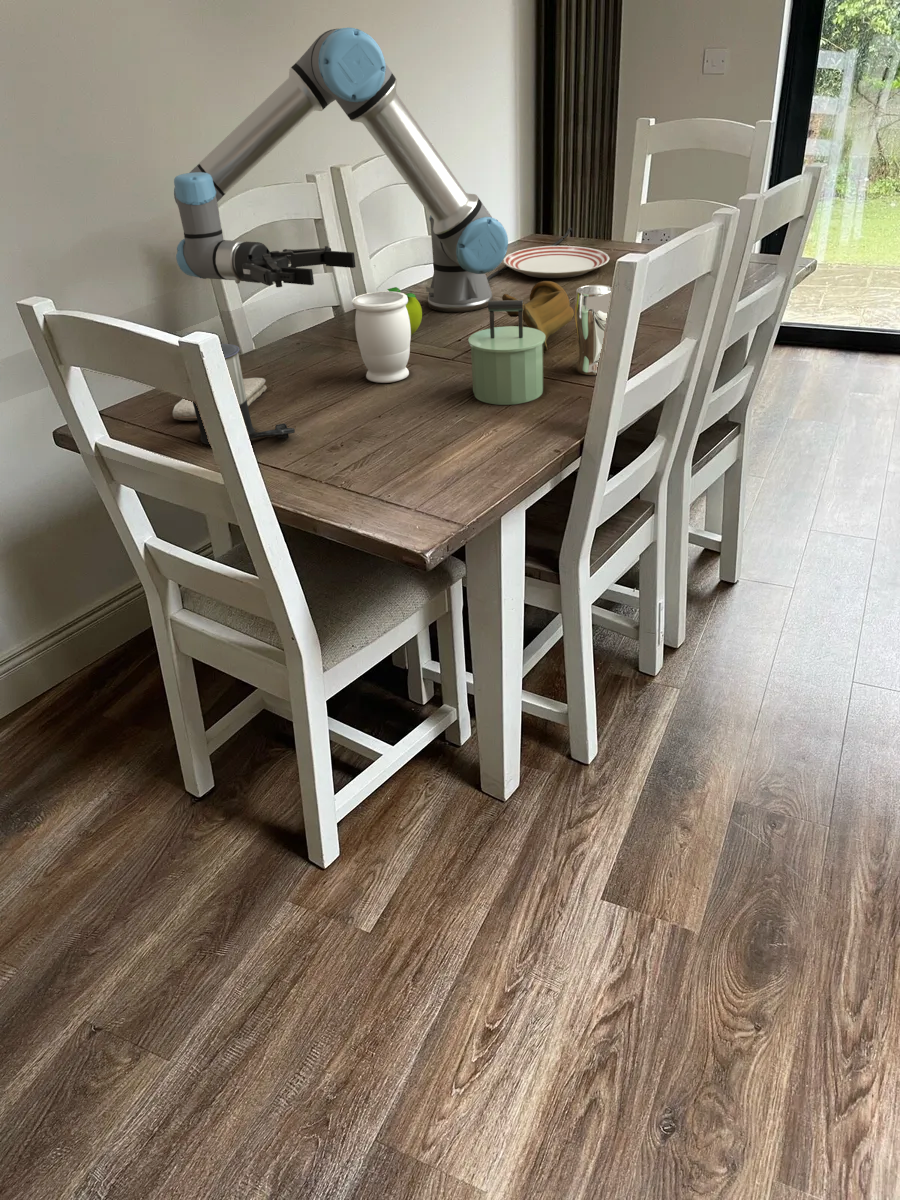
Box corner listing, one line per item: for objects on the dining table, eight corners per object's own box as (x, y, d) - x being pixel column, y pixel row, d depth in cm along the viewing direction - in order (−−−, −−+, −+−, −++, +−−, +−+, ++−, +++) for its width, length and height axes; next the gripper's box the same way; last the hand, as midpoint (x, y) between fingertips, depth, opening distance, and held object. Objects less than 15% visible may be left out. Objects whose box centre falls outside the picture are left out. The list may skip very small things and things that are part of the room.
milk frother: (201, 430, 162) (182, 346, 154) (291, 417, 164) (277, 334, 156) (201, 462, 150) (181, 373, 142) (298, 448, 152) (284, 359, 144)
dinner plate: (629, 264, 242) (630, 251, 240) (565, 288, 226) (565, 274, 224) (547, 253, 259) (547, 241, 257) (482, 275, 243) (481, 262, 241)
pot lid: (474, 332, 170) (472, 291, 166) (548, 331, 168) (548, 289, 164) (463, 356, 159) (460, 312, 155) (542, 355, 157) (542, 311, 153)
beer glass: (589, 361, 179) (591, 282, 171) (618, 368, 175) (622, 287, 167) (566, 371, 176) (567, 290, 167) (596, 378, 171) (598, 296, 163)
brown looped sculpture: (459, 312, 188) (523, 269, 199) (483, 370, 193) (544, 326, 205) (525, 295, 174) (590, 251, 185) (549, 359, 179) (610, 312, 191)
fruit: (408, 327, 206) (404, 281, 201) (430, 336, 200) (427, 289, 194) (372, 336, 202) (367, 290, 197) (394, 346, 196) (389, 298, 190)
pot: (478, 380, 174) (476, 330, 169) (545, 380, 172) (545, 329, 167) (469, 404, 164) (466, 352, 159) (540, 404, 162) (539, 351, 157)
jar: (354, 373, 182) (344, 296, 174) (402, 364, 185) (396, 287, 177) (371, 389, 174) (362, 308, 166) (422, 379, 177) (416, 299, 169)
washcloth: (269, 388, 178) (267, 373, 176) (235, 424, 163) (232, 407, 161) (211, 388, 180) (208, 373, 178) (173, 424, 165) (169, 407, 163)
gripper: (286, 266, 193) (371, 273, 184) (206, 297, 175) (296, 306, 166) (281, 228, 189) (367, 233, 180) (198, 256, 171) (289, 262, 162)
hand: (333, 268), depth 173 cm, fingers open, 13 cm apart
